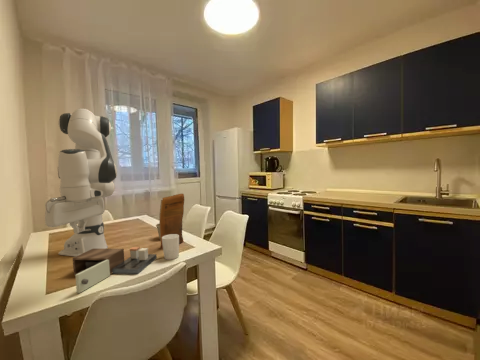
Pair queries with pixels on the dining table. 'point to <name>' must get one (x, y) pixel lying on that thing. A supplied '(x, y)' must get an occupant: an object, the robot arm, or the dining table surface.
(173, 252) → the white cup
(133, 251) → the block
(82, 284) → the door
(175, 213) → the pancake mix bag
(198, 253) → the dining table surface
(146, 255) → the block
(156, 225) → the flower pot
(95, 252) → the wooden box
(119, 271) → the console
